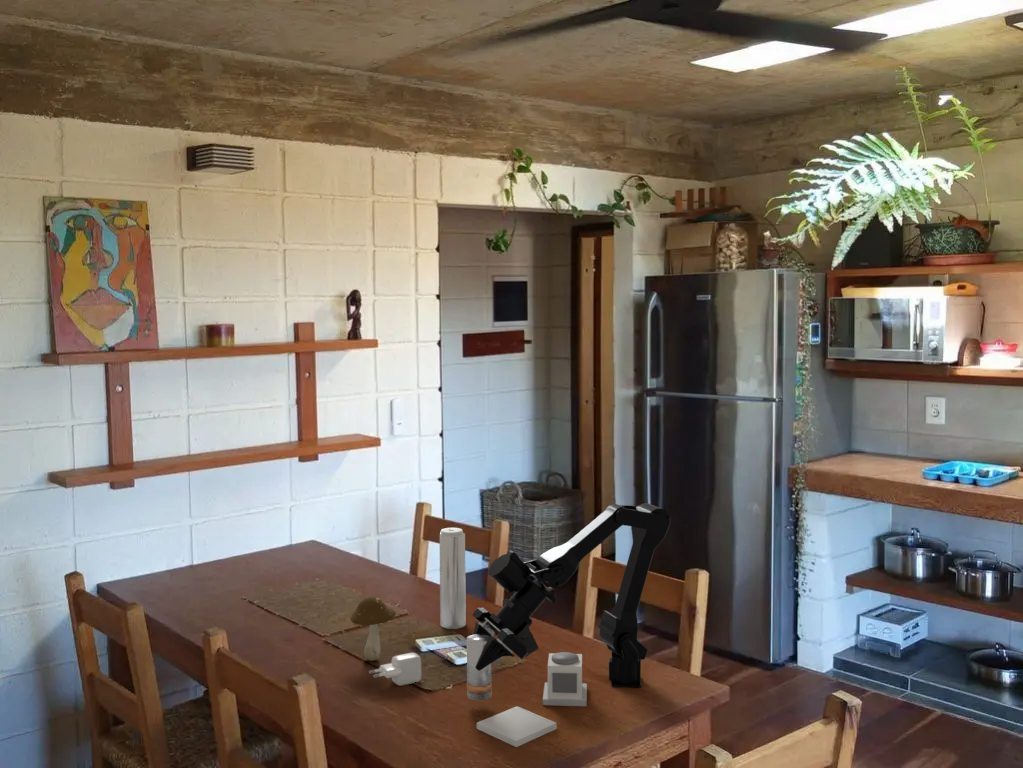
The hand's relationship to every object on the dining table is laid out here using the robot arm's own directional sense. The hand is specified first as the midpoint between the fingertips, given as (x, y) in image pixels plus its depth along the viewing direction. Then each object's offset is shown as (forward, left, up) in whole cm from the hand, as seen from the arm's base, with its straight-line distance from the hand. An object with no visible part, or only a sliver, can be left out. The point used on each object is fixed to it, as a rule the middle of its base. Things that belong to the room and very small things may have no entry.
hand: (472, 664), depth 198 cm
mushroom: (+26, -25, -9) cm, 37 cm away
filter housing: (-19, -7, -9) cm, 22 cm away
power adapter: (+18, -11, -9) cm, 23 cm away
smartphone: (+8, -30, -10) cm, 33 cm away
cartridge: (-1, -1, -7) cm, 7 cm away
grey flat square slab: (-10, +9, -9) cm, 16 cm away
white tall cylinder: (+11, -50, -9) cm, 52 cm away
